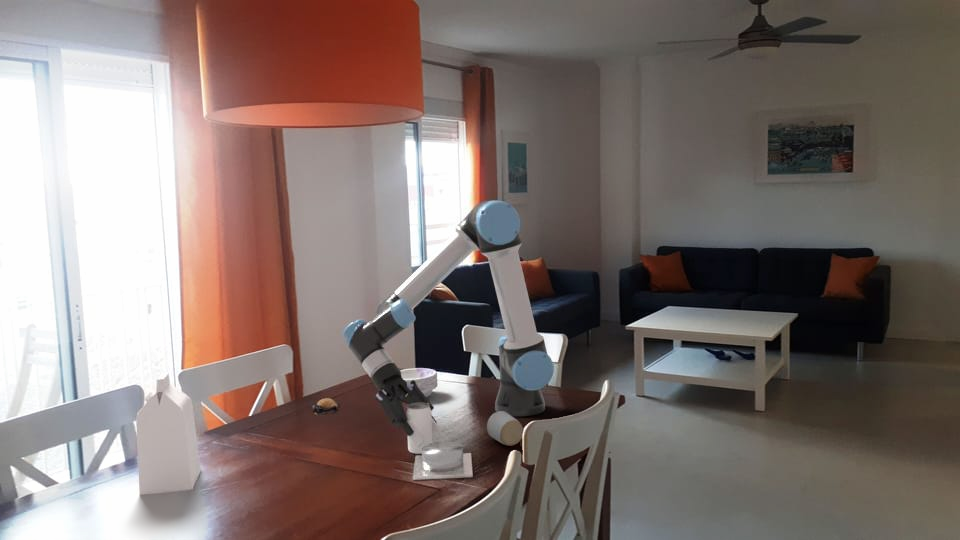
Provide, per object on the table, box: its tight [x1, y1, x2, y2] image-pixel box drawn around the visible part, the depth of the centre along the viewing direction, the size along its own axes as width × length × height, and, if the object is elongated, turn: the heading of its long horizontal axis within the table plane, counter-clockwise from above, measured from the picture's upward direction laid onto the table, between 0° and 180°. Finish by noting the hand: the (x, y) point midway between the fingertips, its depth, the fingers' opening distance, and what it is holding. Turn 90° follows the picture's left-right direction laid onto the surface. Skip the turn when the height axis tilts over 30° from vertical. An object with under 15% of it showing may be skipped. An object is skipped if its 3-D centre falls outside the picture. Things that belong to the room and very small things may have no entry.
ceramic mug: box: [486, 411, 524, 447], centre depth 198 cm, size 11×8×8 cm
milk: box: [135, 372, 202, 496], centre depth 176 cm, size 12×12×26 cm
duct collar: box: [412, 441, 473, 481], centre depth 181 cm, size 14×14×5 cm
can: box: [406, 402, 434, 455], centre depth 193 cm, size 6×6×12 cm
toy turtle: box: [311, 397, 340, 416], centre depth 234 cm, size 11×8×4 cm
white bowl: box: [400, 367, 438, 398], centre depth 245 cm, size 15×15×8 cm
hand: (430, 439), depth 191 cm, fingers closed on can, 6 cm apart
